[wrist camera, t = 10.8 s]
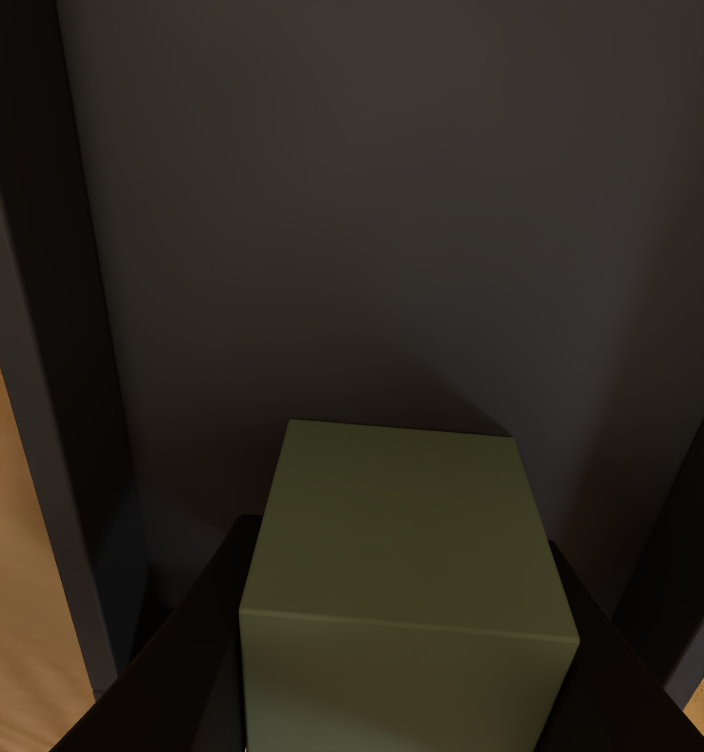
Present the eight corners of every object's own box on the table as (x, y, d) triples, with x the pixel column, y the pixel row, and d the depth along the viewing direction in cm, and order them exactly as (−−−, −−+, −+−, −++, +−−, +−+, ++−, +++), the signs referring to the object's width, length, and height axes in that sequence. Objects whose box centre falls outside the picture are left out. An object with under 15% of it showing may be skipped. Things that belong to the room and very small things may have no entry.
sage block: (475, 589, 12) (511, 807, 9) (287, 572, 12) (247, 784, 9) (514, 436, 10) (583, 641, 7) (288, 417, 10) (237, 611, 7)
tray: (611, 645, 13) (654, 759, 11) (142, 603, 14) (95, 708, 11) (1047, -286, 6) (1440, -485, 4) (-36, -355, 6) (-276, -584, 4)
